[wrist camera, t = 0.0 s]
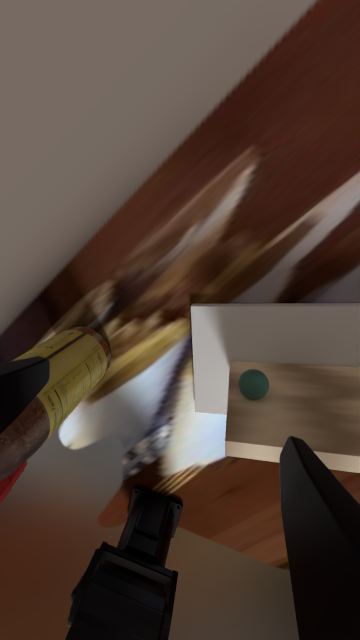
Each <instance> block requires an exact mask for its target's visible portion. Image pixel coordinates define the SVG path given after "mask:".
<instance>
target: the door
mask: <svg viewBox="0 0 360 640" xmlns="http://www.w3.org/2000/svg"><path fill="white" fill-rule="evenodd" d="M289 436H294V437H297V438H301V439H303V440H304V441H305V442H306V443H307V445H308V446H309V447H310V448H311V449H312V450H313V451H314V453H315V454H316V455H317V456H318V457H319V458H320V459H321V461H322V462H323V463H324V464H325V465H326V466H327V467H328V469H334V470H341V471H349V472H357V473H360V367H343V366H321V365H300V364H279V363H258V362H237V361H230V369H229V386H228V403H227V421H226V438H225V456H233V457H241V458H249V459H256V460H264V461H272V462H279V459H280V454H281V451H282V449H283V447H284V445H285V443H286V440H287V438H288V437H289Z"/></svg>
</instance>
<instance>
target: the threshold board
mask: <svg viewBox="0 0 360 640" xmlns="http://www.w3.org/2000/svg"><path fill="white" fill-rule="evenodd" d="M191 322H192V345H193V367H194V390H195V412H203V413H213V414H224V415H227V403H228V386H229V369H230V361H237V362H258V363H279V364H300V365H321V366H343V367H360V303H262V304H192V305H191Z"/></svg>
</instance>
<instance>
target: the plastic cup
mask: <svg viewBox="0 0 360 640" xmlns="http://www.w3.org/2000/svg"><path fill="white" fill-rule="evenodd" d="M26 465H27V460H26V461H25V462H24V463H23V464H22V465H21V466H20V467H19V468H17V469H16V470H15V471H14V472H13V473H12V474H11V475H9V476H8V477H7V478H5V479H3V480H1V481H0V504H1V502H2V501H3V500H4V499H5V497H6V496H7V494H8V493H9V491H10V490H11V488H12V486H13V485H14V483H15V482H16V480H17V479H18V478H19V476H20V475H21V473H22V472H23V471H24V468H25V466H26Z"/></svg>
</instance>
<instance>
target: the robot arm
mask: <svg viewBox="0 0 360 640" xmlns="http://www.w3.org/2000/svg"><path fill="white" fill-rule="evenodd" d="M49 378H50V361H49V359H47V358H44V357H41V356H36V357H31V358H26V359H20V360H15V361H10V362H5V363H0V435H1V434H2V433H3V432H4V431H5V430H6V429H7V428H8V427H9V426H10V425H11V424H12V423H13V422H14V421H15V420H16V419H17V418H18V417H19V416H20V415H21V413H22V412H23V411H24V410H25V409H26V408H27V407H28V405H29V404H30V403H31V402H32V401H33V399H34V398H35V397H36V396H37V395H38V394H39V392H40V391H41V390H42V389H43V388H44V387H45V385H46V384H47V383H48V381H49ZM279 463H280V493H281V511H282V520H283V527H284V534H285V541H286V548H287V556H288V563H289V570H290V577H291V584H292V592H293V599H294V606H295V613H296V621H297V628H298V635H299V640H360V504H359V503H358V502H357V501H356V499H355V498H354V497H353V496H352V495H351V494H350V493H349V491H348V490H347V489H346V488H345V487H344V486H343V485H342V483H341V482H340V481H339V480H338V479H337V478H336V477H335V475H334V474H333V473H332V472H331V471H330V470H329V469H328V467H327V466H326V465H325V464H324V463H323V462H322V461H321V459H320V458H319V457H318V456H317V455H316V454H315V453H314V451H313V450H312V449H311V448H310V447H309V446H308V445H307V443H306V442H305V441H304V440H303V439H301V438H297V437H294V436H289V437H288V438H287V440H286V443H285V445H284V447H283V449H282V451H281V454H280V459H279ZM182 508H183V504H182V503H181V502H180V501H177V500H174V499H171V498H169V497H166V496H163V495H161V494H158V493H155V492H153V491H150V490H147V489H145V488H142V487H139V486H134V489H133V492H132V497H131V502H130V507H129V512H128V517H127V522H126V524H125V527H124V529H123V532H122V535H121V537H120V540H119V542H118V545H117V547H113V546H111V545H109V544H108V543H107V542H103V543H102V545H101V547H100V548H99V549H96V550H95V553H94V555H93V557H92V559H91V561H90V564H89V566H88V568H87V569H86V571H85V572H84V574H83V576H82V577H81V579H80V581H79V582H78V583H77V585H76V587H75V588H74V590H73V592H72V594H71V605H72V606H71V610H70V615H69V618H68V622H67V626H68V627H70V630H69V632H68V634H67V636H66V639H65V640H168V636H169V631H170V625H171V618H172V612H173V605H174V598H175V591H176V584H177V577H178V572H177V571H174V570H173V571H171V570H169V569H166V568H165V564H166V560H167V555H168V551H169V547H170V542H171V538H173V537H174V534H175V531H176V528H177V525H178V521H179V518H180V515H181V512H182Z"/></svg>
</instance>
